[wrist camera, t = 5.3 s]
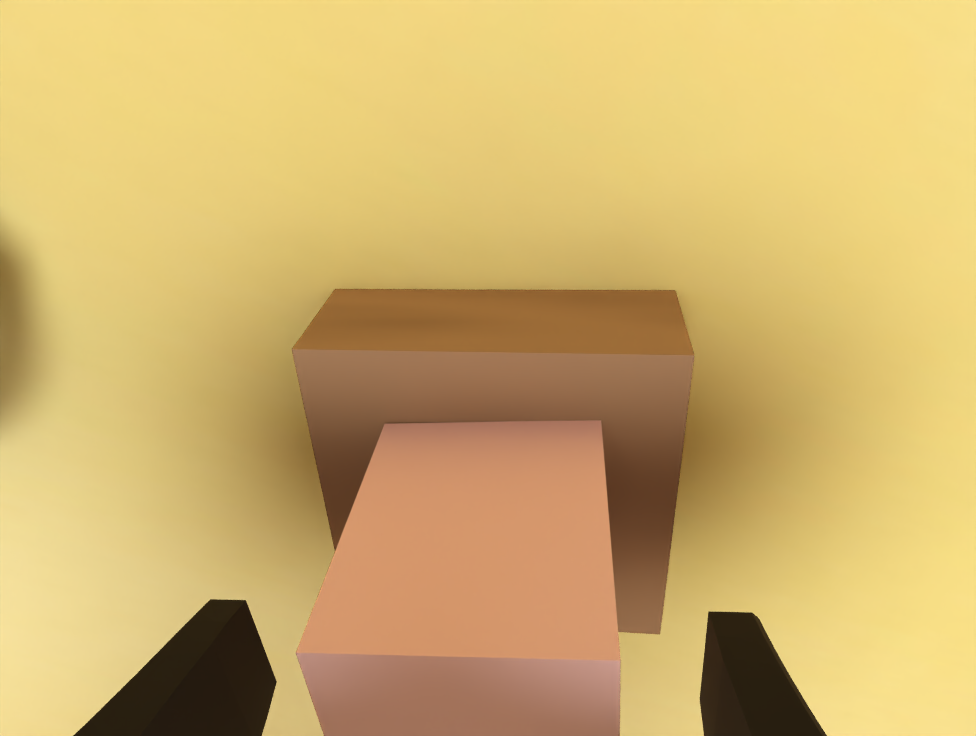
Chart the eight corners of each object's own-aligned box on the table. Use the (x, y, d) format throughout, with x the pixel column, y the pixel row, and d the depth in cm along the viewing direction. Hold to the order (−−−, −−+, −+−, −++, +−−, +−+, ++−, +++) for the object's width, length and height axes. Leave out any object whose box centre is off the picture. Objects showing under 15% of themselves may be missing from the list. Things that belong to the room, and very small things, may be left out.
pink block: (602, 578, 14) (618, 838, 10) (414, 576, 15) (354, 824, 11) (601, 419, 12) (620, 660, 8) (384, 423, 13) (296, 653, 9)
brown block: (647, 536, 18) (659, 634, 15) (380, 523, 19) (348, 615, 16) (672, 282, 14) (693, 355, 12) (340, 281, 15) (291, 348, 12)
